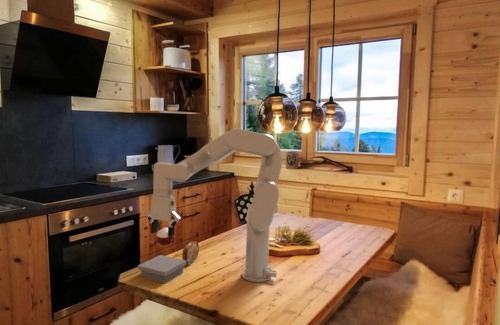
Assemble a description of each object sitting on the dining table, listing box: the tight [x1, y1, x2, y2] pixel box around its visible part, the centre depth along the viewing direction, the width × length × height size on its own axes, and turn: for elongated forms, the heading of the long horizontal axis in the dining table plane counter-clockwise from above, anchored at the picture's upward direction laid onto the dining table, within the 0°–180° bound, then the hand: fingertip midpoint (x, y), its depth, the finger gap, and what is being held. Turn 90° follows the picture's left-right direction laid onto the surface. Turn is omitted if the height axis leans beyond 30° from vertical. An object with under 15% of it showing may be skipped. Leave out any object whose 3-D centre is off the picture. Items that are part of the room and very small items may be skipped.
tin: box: [181, 241, 200, 266], centre depth 167 cm, size 15×3×8 cm, turn 168°
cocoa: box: [155, 219, 175, 246], centre depth 149 cm, size 10×6×12 cm, turn 46°
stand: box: [137, 254, 187, 284], centre depth 151 cm, size 14×14×5 cm
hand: (162, 234), depth 150 cm, fingers closed on cocoa, 8 cm apart
